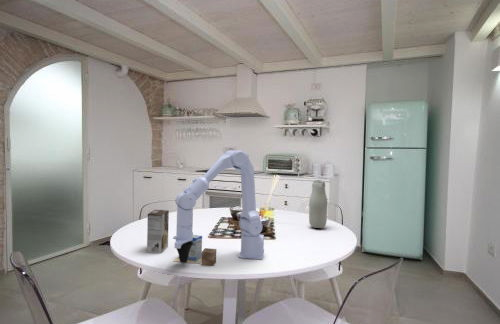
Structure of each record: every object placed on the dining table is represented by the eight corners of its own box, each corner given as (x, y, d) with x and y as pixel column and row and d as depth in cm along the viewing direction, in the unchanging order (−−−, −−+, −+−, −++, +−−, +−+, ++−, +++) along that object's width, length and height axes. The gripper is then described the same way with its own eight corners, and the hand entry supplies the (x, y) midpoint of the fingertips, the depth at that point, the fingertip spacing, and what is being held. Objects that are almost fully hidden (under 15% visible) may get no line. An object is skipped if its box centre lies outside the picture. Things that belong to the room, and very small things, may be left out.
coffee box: (153, 246, 132) (154, 209, 132) (168, 246, 132) (169, 210, 132) (146, 252, 123) (147, 213, 123) (161, 253, 123) (162, 214, 123)
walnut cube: (216, 261, 116) (216, 249, 116) (213, 266, 111) (213, 252, 111) (204, 261, 116) (205, 248, 116) (201, 265, 112) (201, 251, 112)
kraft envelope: (206, 254, 123) (206, 254, 123) (199, 263, 113) (199, 262, 113) (182, 253, 124) (182, 252, 124) (173, 261, 114) (173, 260, 114)
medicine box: (178, 257, 118) (178, 235, 118) (184, 254, 122) (185, 233, 122) (196, 260, 115) (196, 238, 115) (202, 257, 120) (202, 235, 119)
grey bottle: (327, 227, 177) (329, 180, 177) (323, 231, 168) (325, 181, 167) (311, 225, 182) (313, 179, 181) (306, 228, 173) (308, 180, 172)
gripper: (180, 220, 118) (179, 254, 119) (166, 229, 104) (165, 268, 104) (198, 221, 117) (197, 256, 118) (186, 230, 103) (185, 270, 103)
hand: (183, 262), depth 111 cm, fingers closed
